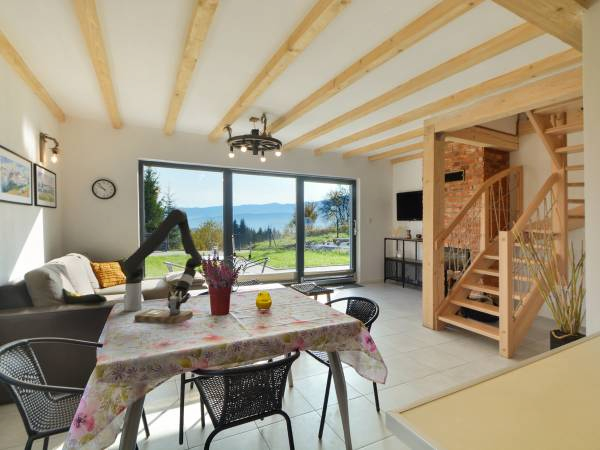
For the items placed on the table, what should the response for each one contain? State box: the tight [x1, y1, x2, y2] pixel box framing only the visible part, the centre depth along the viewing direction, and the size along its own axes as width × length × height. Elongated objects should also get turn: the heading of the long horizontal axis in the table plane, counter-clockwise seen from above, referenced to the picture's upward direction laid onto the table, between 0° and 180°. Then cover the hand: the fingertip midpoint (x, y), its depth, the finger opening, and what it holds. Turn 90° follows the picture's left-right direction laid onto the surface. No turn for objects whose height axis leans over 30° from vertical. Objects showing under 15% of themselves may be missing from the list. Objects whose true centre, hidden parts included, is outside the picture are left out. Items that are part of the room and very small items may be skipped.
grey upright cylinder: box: [169, 296, 181, 316], centre depth 184 cm, size 4×4×12 cm
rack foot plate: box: [134, 308, 194, 325], centre depth 185 cm, size 28×14×3 cm, turn 79°
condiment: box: [166, 283, 178, 304], centre depth 225 cm, size 7×8×12 cm
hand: (173, 308), depth 182 cm, fingers closed on grey upright cylinder, 4 cm apart
